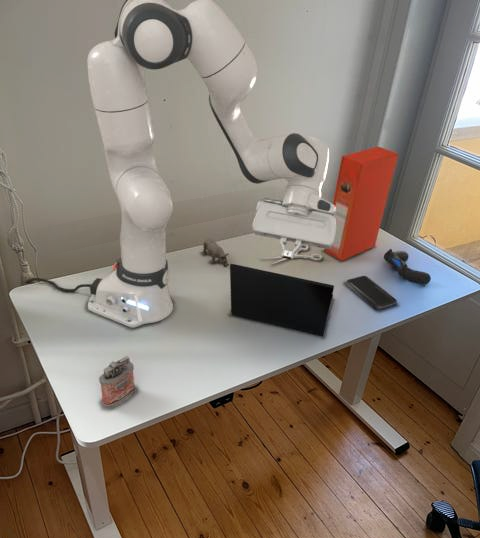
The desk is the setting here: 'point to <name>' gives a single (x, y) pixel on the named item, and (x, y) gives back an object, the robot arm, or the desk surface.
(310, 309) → the laptop screen
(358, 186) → the file binder
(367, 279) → the phone
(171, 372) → the desk surface
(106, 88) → the robot arm
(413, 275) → the gaming controller
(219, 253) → the rhino figurine
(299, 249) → the scissors
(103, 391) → the lighter
